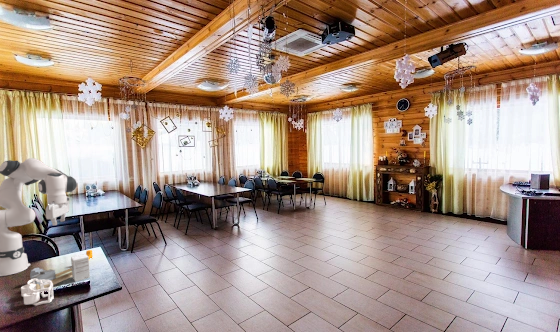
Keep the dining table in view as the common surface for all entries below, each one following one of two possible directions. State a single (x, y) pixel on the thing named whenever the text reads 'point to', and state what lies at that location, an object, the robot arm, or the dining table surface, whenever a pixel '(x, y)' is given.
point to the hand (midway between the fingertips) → (58, 223)
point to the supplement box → (80, 267)
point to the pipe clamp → (89, 253)
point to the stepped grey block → (35, 272)
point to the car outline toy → (36, 292)
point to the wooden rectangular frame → (52, 277)
